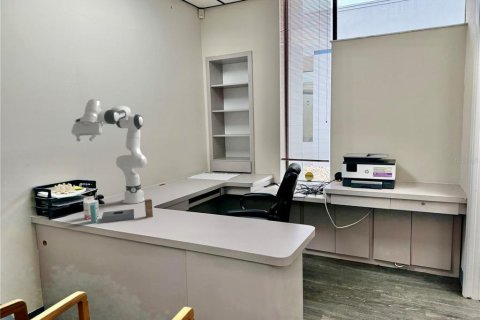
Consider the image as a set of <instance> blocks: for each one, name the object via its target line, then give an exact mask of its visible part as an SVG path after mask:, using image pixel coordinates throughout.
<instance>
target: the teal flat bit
mask: <svg viewBox="0 0 480 320" xmlns="http://www.w3.org/2000/svg"><path fill="white" fill-rule="evenodd" d="M90 212H91V219H90V222H91V224H94V223H93V222H96V223H97V221H98V217H97V216H96V204H95V203H91V205H90ZM96 220H97V221H96Z"/></svg>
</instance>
